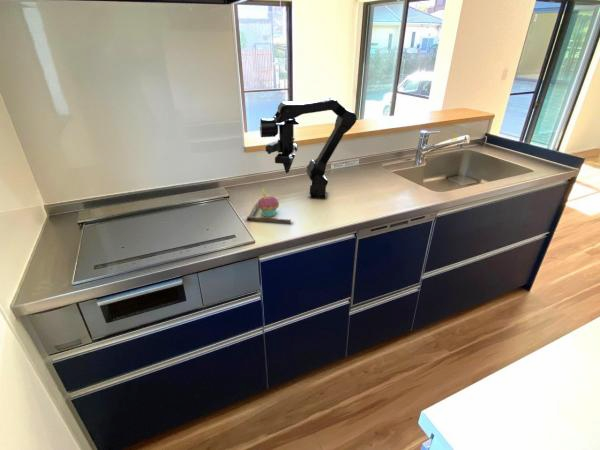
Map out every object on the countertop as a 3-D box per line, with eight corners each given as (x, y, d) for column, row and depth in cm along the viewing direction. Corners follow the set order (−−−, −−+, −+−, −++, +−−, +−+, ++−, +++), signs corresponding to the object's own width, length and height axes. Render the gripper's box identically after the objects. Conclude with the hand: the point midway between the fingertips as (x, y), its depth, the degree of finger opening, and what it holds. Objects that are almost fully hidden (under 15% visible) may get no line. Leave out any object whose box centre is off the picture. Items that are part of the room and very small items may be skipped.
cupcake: (262, 220, 133) (260, 192, 127) (254, 211, 140) (252, 184, 134) (282, 215, 137) (282, 188, 131) (274, 207, 143) (273, 180, 137)
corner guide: (295, 208, 142) (295, 205, 142) (290, 224, 131) (290, 220, 130) (255, 205, 144) (255, 202, 144) (247, 220, 133) (246, 217, 133)
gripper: (271, 128, 146) (273, 164, 154) (260, 141, 130) (263, 180, 138) (297, 130, 144) (297, 165, 152) (290, 142, 128) (290, 181, 136)
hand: (287, 172), depth 145 cm, fingers closed
